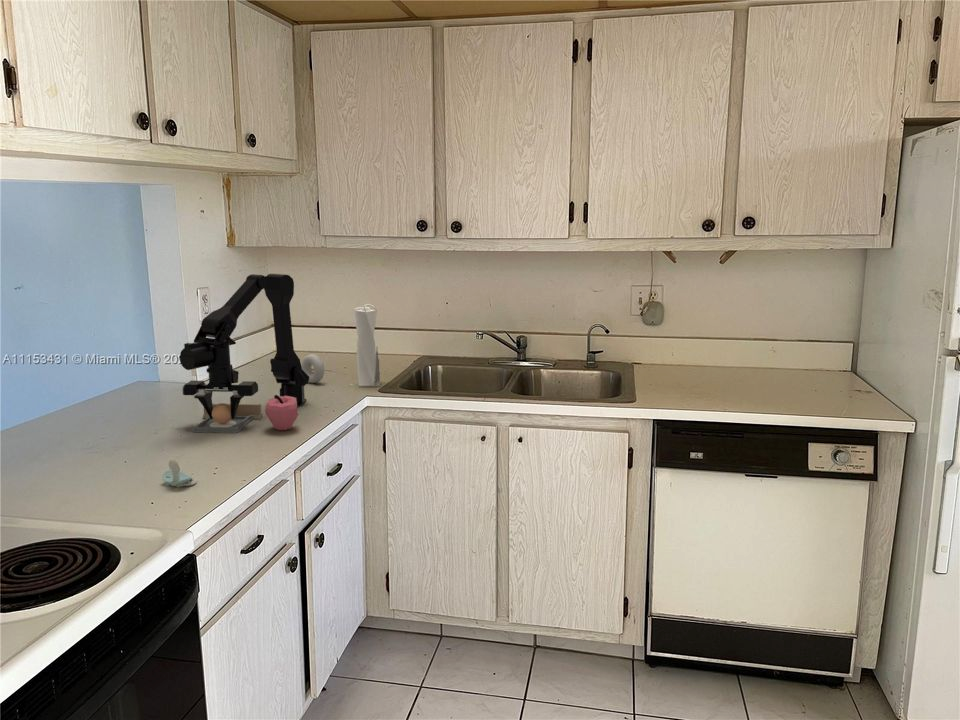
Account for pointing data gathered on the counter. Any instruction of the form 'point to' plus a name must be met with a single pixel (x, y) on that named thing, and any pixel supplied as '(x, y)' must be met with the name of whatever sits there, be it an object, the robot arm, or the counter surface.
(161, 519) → the counter surface
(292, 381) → the robot arm
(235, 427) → the mat
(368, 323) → the skyscraper
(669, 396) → the counter surface
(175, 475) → the pacifier
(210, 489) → the counter surface
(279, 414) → the apple
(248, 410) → the tan rectangular bar
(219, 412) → the ball
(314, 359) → the donut
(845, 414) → the counter surface
